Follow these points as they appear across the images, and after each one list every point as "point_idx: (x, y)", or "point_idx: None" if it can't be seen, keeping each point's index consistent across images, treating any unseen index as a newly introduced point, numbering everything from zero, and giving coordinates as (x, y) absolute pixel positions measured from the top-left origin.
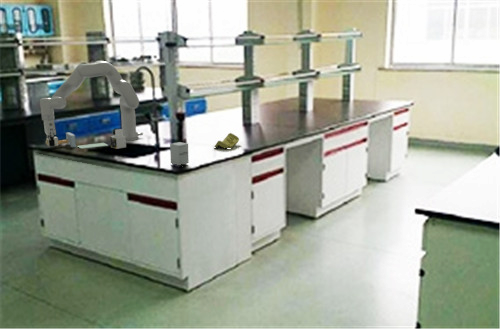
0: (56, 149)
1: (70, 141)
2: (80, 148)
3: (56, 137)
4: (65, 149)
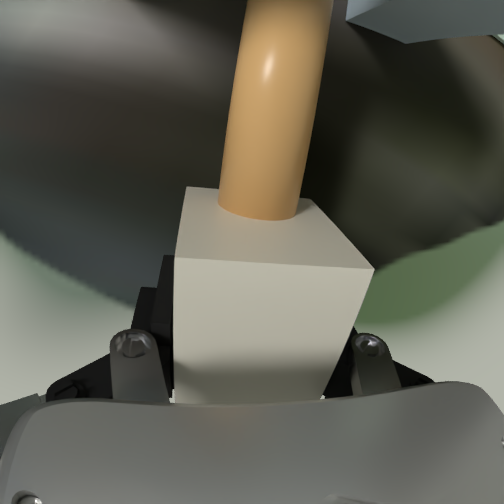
0: (369, 249)
1: (403, 6)
2: (502, 41)
3: (310, 280)
4: (443, 166)
